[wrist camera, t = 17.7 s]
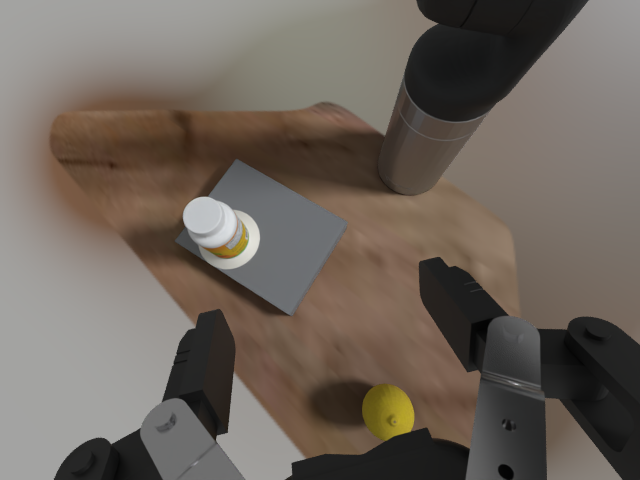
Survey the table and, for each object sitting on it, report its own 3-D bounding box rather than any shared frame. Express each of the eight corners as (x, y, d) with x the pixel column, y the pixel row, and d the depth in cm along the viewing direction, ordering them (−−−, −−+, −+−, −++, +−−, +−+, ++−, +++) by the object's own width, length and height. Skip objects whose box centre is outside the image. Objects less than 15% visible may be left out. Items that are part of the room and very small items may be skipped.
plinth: (241, 168, 49) (235, 157, 45) (346, 228, 46) (347, 221, 43) (184, 246, 46) (173, 240, 42) (292, 316, 43) (289, 315, 40)
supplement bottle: (200, 246, 42) (164, 222, 33) (225, 212, 43) (197, 181, 34) (234, 267, 41) (206, 250, 32) (258, 233, 42) (238, 206, 33)
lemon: (355, 422, 39) (362, 445, 32) (363, 374, 41) (371, 385, 33) (401, 433, 39) (419, 459, 31) (407, 384, 40) (426, 398, 33)
